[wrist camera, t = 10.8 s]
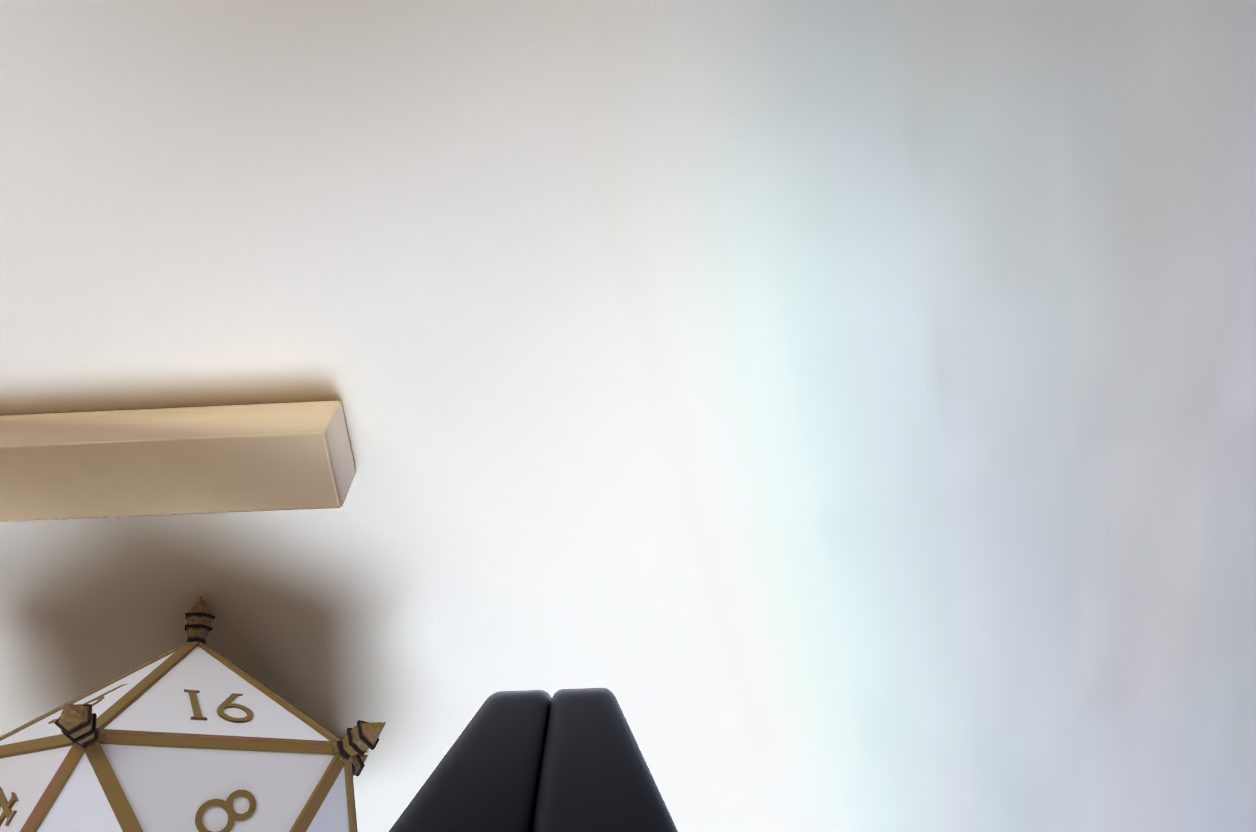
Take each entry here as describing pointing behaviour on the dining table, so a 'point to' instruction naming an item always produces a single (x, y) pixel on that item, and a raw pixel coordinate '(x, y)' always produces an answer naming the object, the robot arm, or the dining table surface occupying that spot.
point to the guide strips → (174, 461)
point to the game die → (181, 755)
